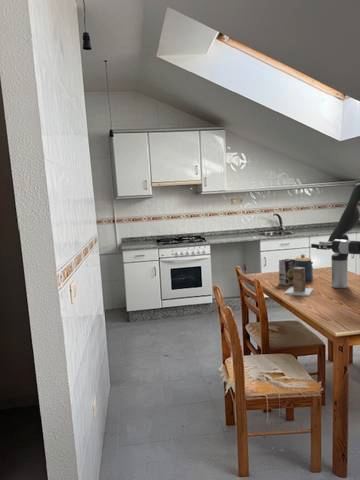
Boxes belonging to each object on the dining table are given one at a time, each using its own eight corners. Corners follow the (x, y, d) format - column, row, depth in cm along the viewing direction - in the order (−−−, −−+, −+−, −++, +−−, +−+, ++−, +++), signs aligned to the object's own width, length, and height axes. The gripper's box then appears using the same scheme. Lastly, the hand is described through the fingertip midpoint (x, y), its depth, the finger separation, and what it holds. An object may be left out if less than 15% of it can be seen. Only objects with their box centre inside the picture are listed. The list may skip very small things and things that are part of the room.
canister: (316, 278, 259) (316, 253, 257) (308, 282, 249) (307, 256, 247) (298, 276, 268) (298, 252, 266) (289, 280, 258) (289, 255, 256)
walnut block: (298, 289, 230) (297, 266, 229) (305, 290, 226) (305, 267, 225) (293, 290, 227) (293, 268, 225) (300, 292, 223) (300, 269, 222)
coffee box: (286, 285, 244) (286, 261, 242) (278, 284, 249) (278, 260, 248) (295, 283, 249) (295, 259, 247) (288, 281, 254) (287, 258, 252)
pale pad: (290, 288, 236) (290, 286, 236) (313, 290, 229) (313, 288, 229) (284, 294, 224) (284, 292, 224) (308, 296, 217) (308, 294, 217)
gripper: (349, 238, 206) (322, 236, 219) (336, 241, 198) (308, 239, 210) (349, 251, 207) (322, 249, 220) (336, 255, 198) (308, 252, 211)
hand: (315, 244), depth 215 cm, fingers open, 8 cm apart
